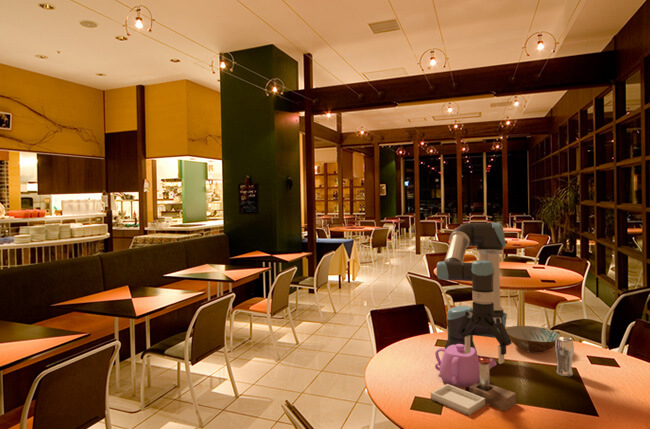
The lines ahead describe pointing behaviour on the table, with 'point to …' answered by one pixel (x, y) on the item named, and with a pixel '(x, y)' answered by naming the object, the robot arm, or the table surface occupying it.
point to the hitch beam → (495, 396)
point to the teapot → (459, 365)
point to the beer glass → (564, 355)
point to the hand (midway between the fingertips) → (483, 357)
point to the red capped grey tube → (484, 373)
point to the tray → (458, 399)
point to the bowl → (532, 338)
